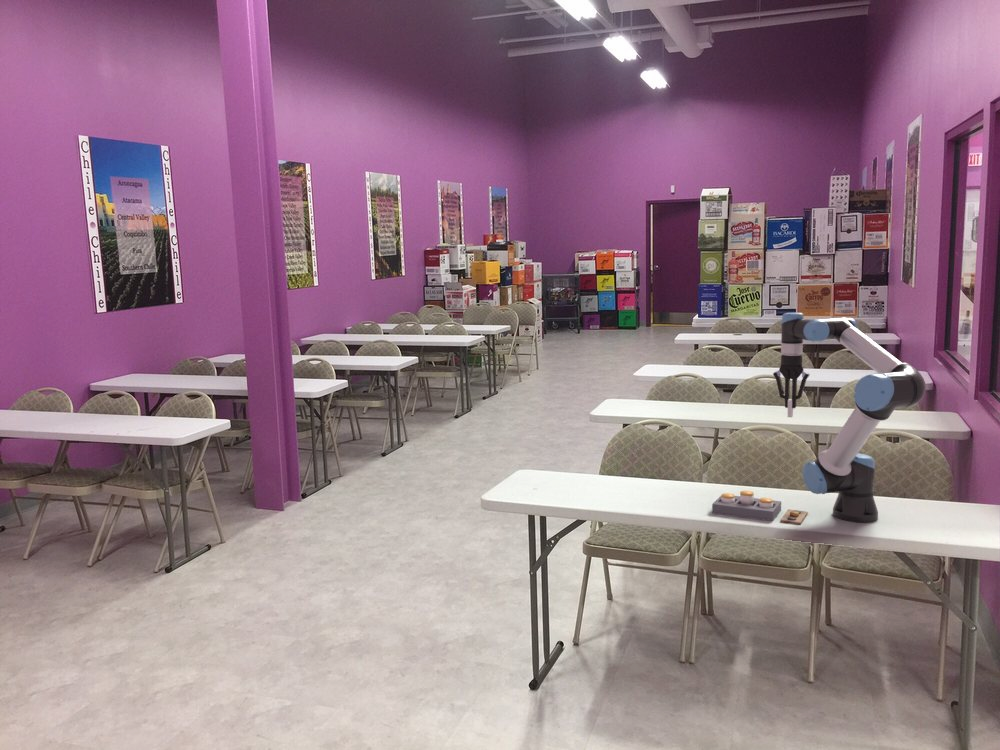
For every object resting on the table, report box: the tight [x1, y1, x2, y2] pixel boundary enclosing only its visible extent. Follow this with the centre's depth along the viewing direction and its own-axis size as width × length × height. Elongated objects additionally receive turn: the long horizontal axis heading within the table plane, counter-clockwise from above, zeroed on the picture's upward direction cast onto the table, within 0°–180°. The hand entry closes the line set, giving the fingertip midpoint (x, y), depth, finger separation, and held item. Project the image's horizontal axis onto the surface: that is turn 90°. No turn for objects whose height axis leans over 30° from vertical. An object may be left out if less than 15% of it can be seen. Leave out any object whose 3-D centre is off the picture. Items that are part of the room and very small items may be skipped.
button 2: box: [758, 497, 774, 508], centre depth 300 cm, size 5×5×4 cm
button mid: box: [739, 490, 755, 506], centre depth 304 cm, size 5×5×4 cm
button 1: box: [720, 492, 736, 503], centre depth 307 cm, size 5×5×4 cm
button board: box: [711, 495, 782, 522], centre depth 304 cm, size 22×14×4 cm, turn 60°
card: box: [779, 508, 809, 525], centre depth 296 cm, size 7×14×2 cm, turn 150°
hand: (790, 416), depth 306 cm, fingers closed
